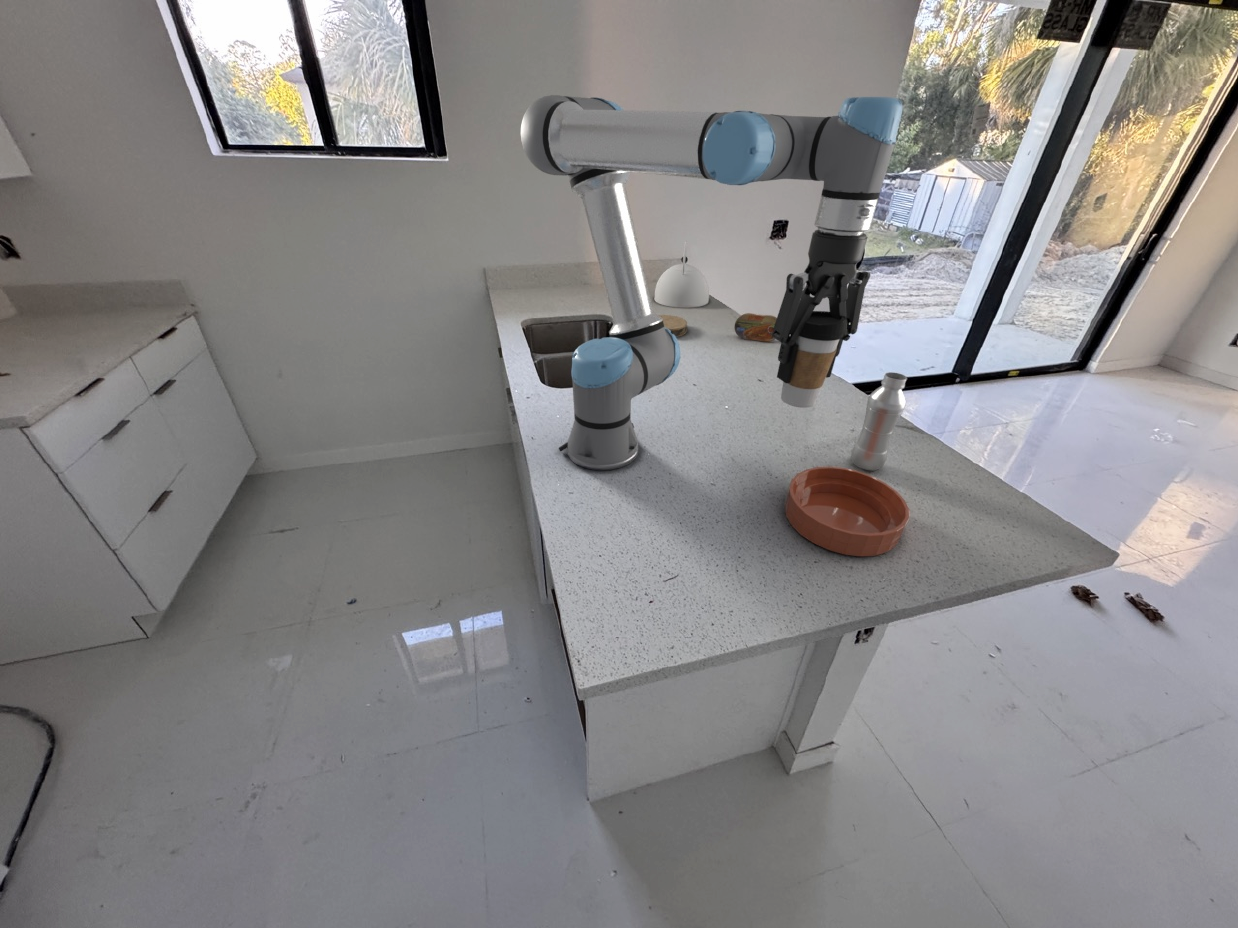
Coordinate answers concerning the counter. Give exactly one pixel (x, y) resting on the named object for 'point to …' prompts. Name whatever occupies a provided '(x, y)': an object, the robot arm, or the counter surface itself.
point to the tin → (755, 327)
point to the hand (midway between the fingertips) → (803, 376)
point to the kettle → (682, 286)
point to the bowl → (846, 511)
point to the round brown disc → (675, 324)
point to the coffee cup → (813, 358)
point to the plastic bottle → (879, 422)
